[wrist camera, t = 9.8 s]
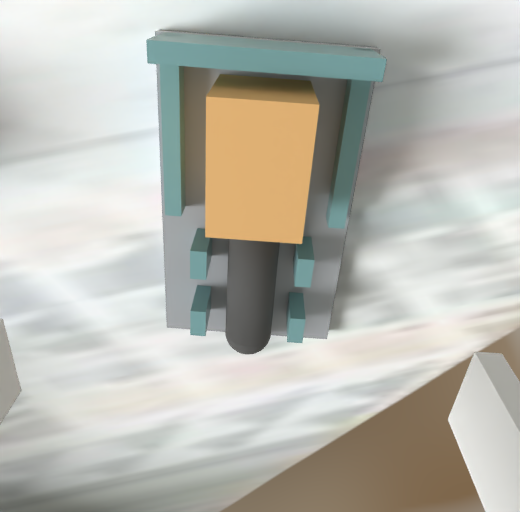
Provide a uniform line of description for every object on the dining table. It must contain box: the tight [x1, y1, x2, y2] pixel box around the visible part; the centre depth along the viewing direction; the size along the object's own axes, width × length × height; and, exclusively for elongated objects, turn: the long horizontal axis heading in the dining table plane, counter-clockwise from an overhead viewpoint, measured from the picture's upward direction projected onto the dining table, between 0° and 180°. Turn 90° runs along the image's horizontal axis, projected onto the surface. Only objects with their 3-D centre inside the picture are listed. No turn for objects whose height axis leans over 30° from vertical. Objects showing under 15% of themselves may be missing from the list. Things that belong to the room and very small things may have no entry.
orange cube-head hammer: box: [205, 74, 319, 354], centre depth 28 cm, size 18×5×6 cm, turn 176°
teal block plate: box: [147, 30, 387, 343], centre depth 28 cm, size 20×12×5 cm, turn 176°
